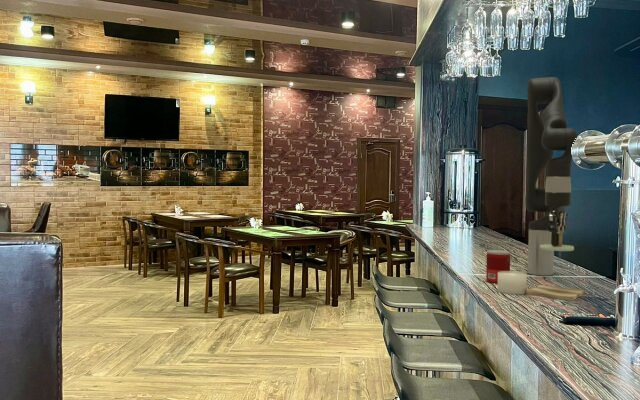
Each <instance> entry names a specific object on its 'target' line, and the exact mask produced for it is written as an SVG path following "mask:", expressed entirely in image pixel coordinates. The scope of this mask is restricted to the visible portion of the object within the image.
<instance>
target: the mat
mask: <svg viewBox="0 0 640 400" xmlns="http://www.w3.org/2000/svg"><path fill="white" fill-rule="evenodd" d="M585 294H586V290H585V289H578V288H570V287H562V286H555V285H547V284H539V285H537V286H535V287H533V288H530V289H527V291H526V293H525V295H531V296H538V297H545V298H553V299H557V300H558V299H559V300H567V301H574V300H577V299H578V298H580V297H581V296H583V295H585Z"/></svg>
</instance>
